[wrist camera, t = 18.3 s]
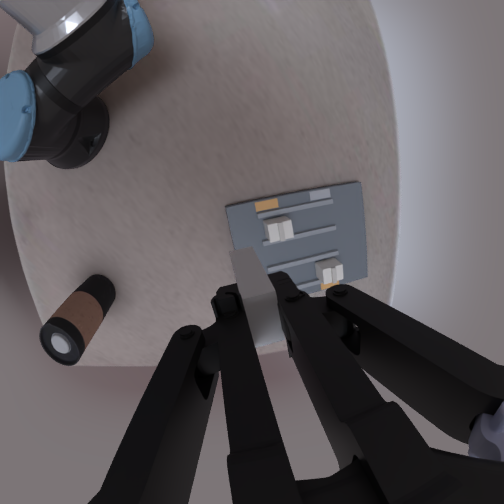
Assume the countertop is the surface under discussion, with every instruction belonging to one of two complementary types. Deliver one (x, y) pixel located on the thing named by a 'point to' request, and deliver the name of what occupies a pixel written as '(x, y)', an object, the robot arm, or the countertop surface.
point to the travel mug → (77, 320)
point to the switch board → (306, 232)
